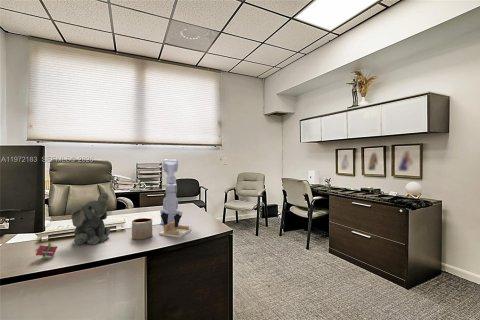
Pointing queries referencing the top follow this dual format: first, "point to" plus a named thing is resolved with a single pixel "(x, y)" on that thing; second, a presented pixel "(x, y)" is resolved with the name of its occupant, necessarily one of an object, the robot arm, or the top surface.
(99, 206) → the stuffed elephant
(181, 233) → the stand
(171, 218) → the robot arm
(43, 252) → the geometric puzzle
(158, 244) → the top surface
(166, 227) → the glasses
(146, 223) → the planter
